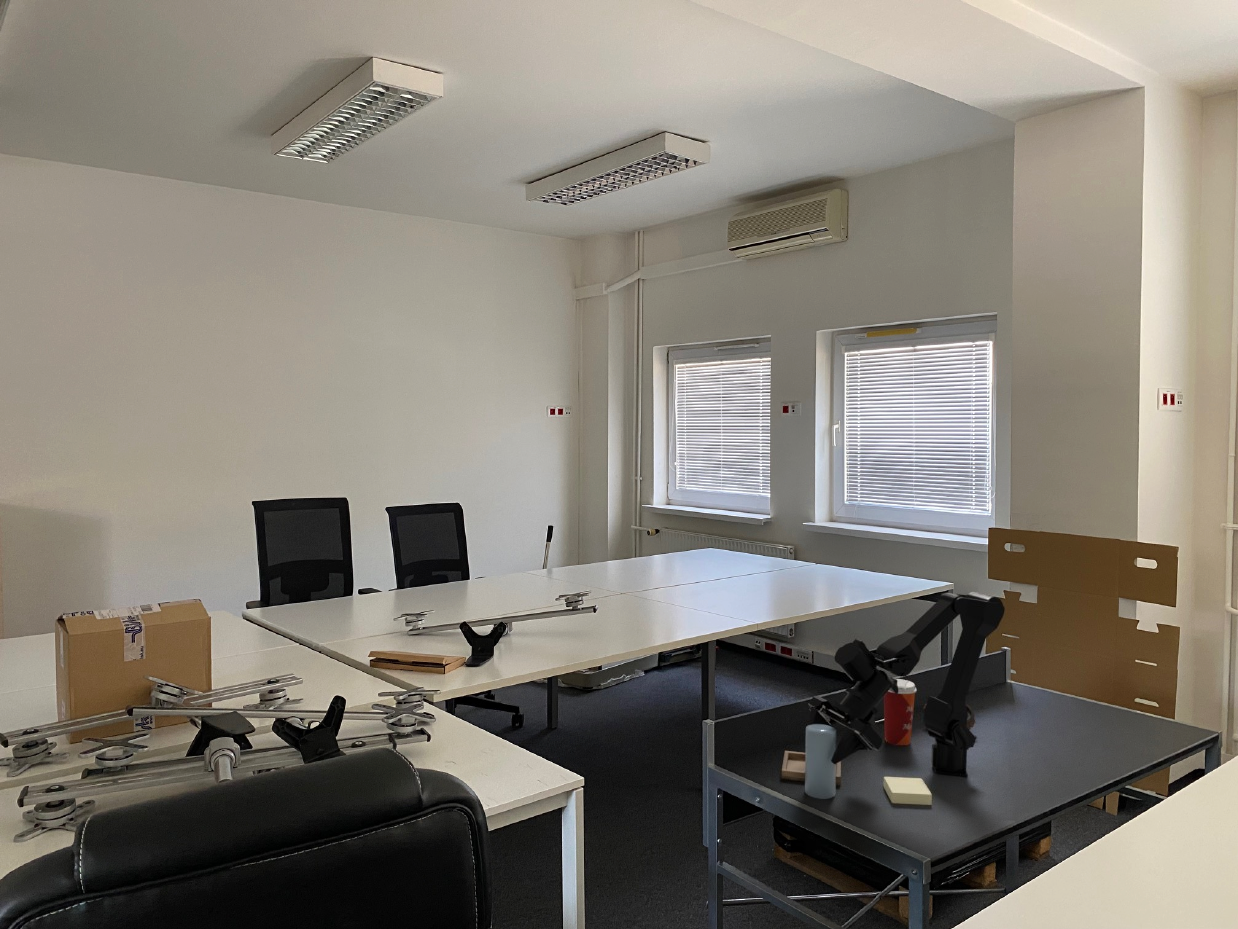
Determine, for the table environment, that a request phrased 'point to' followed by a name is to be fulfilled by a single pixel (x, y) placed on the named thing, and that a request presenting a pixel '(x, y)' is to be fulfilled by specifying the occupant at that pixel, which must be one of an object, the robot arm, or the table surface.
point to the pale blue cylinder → (820, 761)
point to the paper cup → (899, 713)
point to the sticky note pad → (907, 790)
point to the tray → (800, 767)
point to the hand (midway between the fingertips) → (819, 754)
